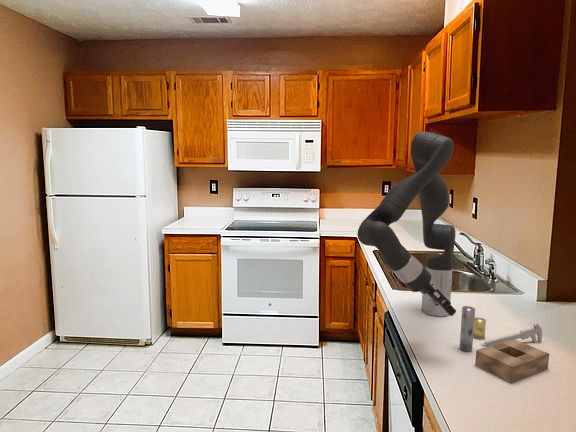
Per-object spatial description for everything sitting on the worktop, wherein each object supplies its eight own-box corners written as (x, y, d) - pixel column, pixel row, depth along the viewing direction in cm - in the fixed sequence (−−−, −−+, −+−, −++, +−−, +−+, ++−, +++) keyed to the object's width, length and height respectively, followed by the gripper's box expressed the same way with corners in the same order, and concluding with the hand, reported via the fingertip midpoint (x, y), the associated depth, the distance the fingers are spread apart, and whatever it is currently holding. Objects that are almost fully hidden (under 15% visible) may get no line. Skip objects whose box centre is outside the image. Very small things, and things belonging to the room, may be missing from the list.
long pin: (456, 348, 132) (459, 307, 130) (464, 345, 134) (467, 305, 132) (466, 353, 129) (469, 311, 127) (474, 350, 131) (477, 309, 129)
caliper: (539, 341, 138) (540, 322, 137) (541, 343, 137) (543, 324, 136) (480, 346, 135) (482, 326, 134) (482, 347, 134) (484, 328, 133)
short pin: (470, 336, 141) (471, 318, 140) (477, 334, 143) (478, 316, 142) (479, 340, 138) (480, 322, 137) (487, 338, 140) (488, 320, 139)
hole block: (475, 365, 122) (476, 350, 121) (510, 352, 130) (512, 338, 129) (511, 383, 112) (512, 367, 112) (547, 368, 120) (549, 353, 119)
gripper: (432, 269, 118) (468, 307, 122) (409, 257, 132) (442, 291, 136) (412, 289, 118) (449, 326, 122) (392, 274, 132) (426, 308, 136)
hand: (445, 308), depth 129 cm, fingers open, 8 cm apart
